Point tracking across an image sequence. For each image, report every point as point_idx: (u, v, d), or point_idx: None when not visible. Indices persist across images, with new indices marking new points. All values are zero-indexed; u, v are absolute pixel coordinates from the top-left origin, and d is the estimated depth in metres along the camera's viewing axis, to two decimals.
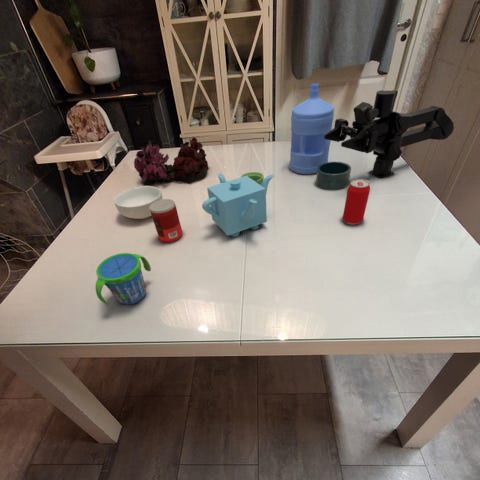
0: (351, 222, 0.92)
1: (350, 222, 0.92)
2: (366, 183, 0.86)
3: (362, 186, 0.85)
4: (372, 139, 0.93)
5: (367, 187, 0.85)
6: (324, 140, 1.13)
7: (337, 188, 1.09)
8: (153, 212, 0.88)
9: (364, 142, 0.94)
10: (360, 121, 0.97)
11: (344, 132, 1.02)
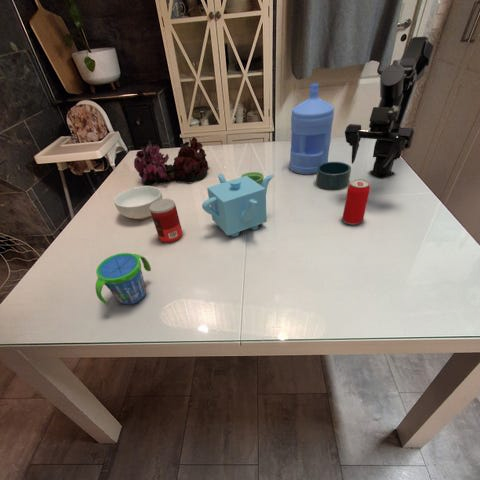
0: (351, 222, 0.92)
1: (350, 222, 0.92)
2: (366, 183, 0.86)
3: (362, 186, 0.85)
4: (411, 139, 0.83)
5: (367, 187, 0.85)
6: (324, 140, 1.13)
7: (337, 188, 1.09)
8: (153, 212, 0.88)
9: (403, 145, 0.85)
10: (381, 123, 0.84)
11: (362, 137, 0.90)
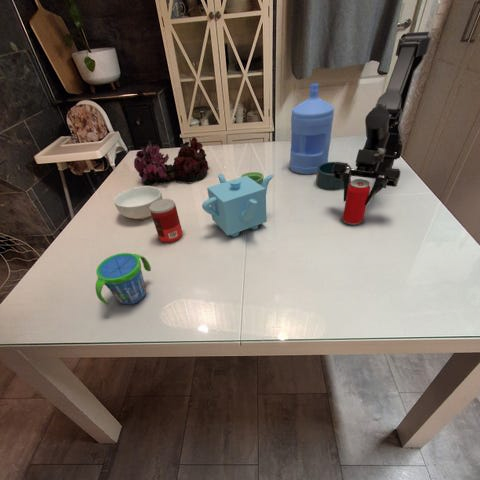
0: (351, 222, 0.92)
1: (350, 222, 0.92)
2: (366, 183, 0.86)
3: (362, 186, 0.85)
4: (398, 179, 0.83)
5: (367, 187, 0.85)
6: (324, 140, 1.13)
7: (337, 188, 1.09)
8: (153, 212, 0.88)
9: (384, 184, 0.86)
10: (367, 163, 0.84)
11: (350, 174, 0.90)
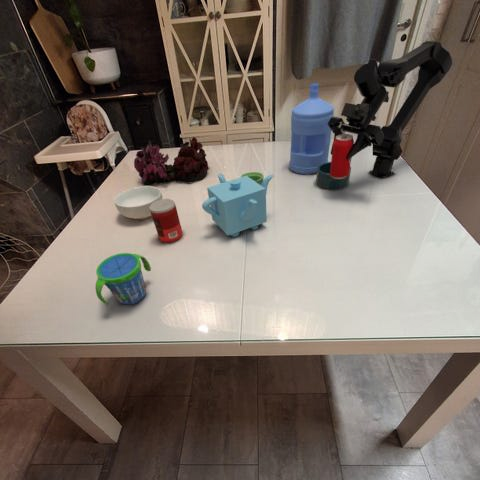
0: (334, 175, 1.00)
1: (333, 175, 1.00)
2: (350, 138, 0.92)
3: (343, 139, 0.92)
4: (377, 136, 0.88)
5: (348, 141, 0.92)
6: (324, 140, 1.13)
7: (337, 188, 1.09)
8: (153, 212, 0.88)
9: (367, 141, 0.91)
10: (354, 118, 0.91)
11: (343, 130, 0.97)
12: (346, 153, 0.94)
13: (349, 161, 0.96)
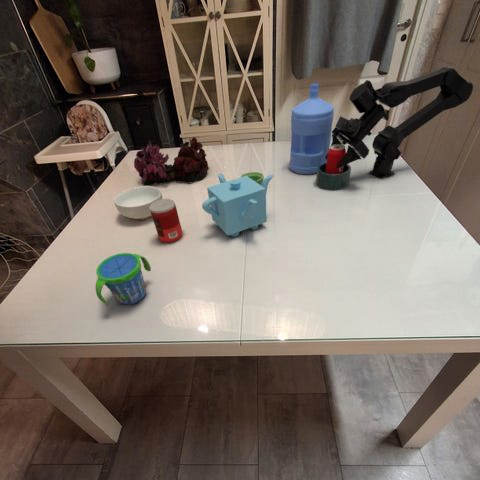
0: None
1: None
2: (341, 148, 1.04)
3: (334, 149, 1.04)
4: (359, 150, 0.98)
5: (337, 151, 1.03)
6: (324, 140, 1.13)
7: (337, 188, 1.09)
8: (153, 212, 0.88)
9: (355, 154, 1.00)
10: None
11: (343, 140, 1.07)
12: (335, 161, 1.05)
13: (339, 169, 1.07)
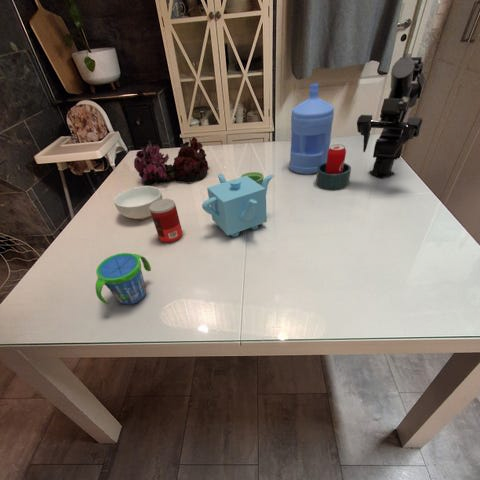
0: None
1: None
2: (341, 148, 1.04)
3: (334, 149, 1.04)
4: (420, 127, 0.90)
5: (337, 151, 1.03)
6: (324, 140, 1.13)
7: (337, 188, 1.09)
8: (153, 212, 0.88)
9: (412, 134, 0.91)
10: (391, 113, 0.91)
11: (373, 127, 0.96)
12: (335, 161, 1.05)
13: (339, 169, 1.07)
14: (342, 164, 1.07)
